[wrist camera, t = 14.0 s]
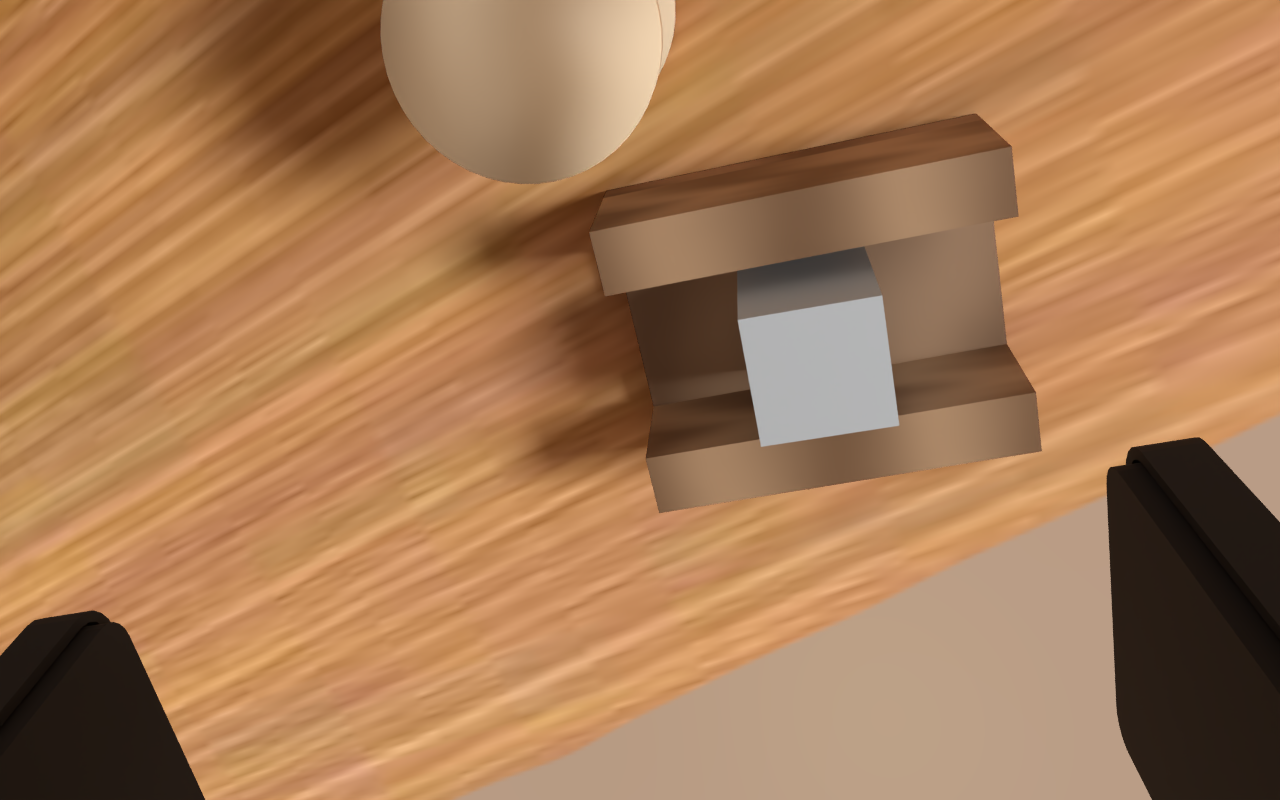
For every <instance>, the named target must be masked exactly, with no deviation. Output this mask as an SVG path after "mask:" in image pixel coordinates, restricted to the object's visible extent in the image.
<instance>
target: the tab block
mask: <svg viewBox="0 0 1280 800" xmlns="http://www.w3.org/2000/svg"><path fill="white" fill-rule="evenodd" d="M737 307H738V325H739V330H740V335H741V341H742V346H743V352H744V357H745V362H746V368H747V373H748V379H749V384H750V389H751V395H752V400H753V406H754V411H755V416H756V422H757V427H758V433H759V438H760V443H761V447H763V446H770V445H776V444H783V443H789V442H796V441H802V440H809V439H816V438H822V437H829V436H835V435H842V434H848V433H855V432H861V431H868V430H874V429H881V428H887V427H894V426H899V419H898V411H897V404H896V396H895V389H894V381H893V373H892V366H891V358H890V351H889V343H888V335H887V328H886V320H885V313H884V305H883V297H882V293H881V291H880V288H879V285H878V282H877V280H876V277H875V274H874V272H873V269H872V266H871V263H870V261H869V258H868V255H867V252H866V250H865V247H864V246H863V247H858V248H853V249H847V250H842V251H837V252H832V253H827V254H822V255H816V256H811V257H806V258H801V259H796V260H791V261H785V262H780V263H775V264H770V265H765V266H760V267H754V268H749V269H744V270H739V271H737Z"/></svg>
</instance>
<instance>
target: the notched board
mask: <svg viewBox="0 0 1280 800" xmlns="http://www.w3.org/2000/svg"><path fill="white" fill-rule="evenodd" d="M1013 217H1018V206H1017V196H1016V186H1015V176H1014V166H1013V156H1012V146H1011V145H1009V144H1008V143H1007V142H1006V141H1005V140H1004V139H1003V138H1002V137H1001V136H1000V135H999V134H998V133H997V132H995V131H994V130H993V129H992V128H991V127H990V126H989V125H988V124H987V123H986V122H985V121H984V120H983V119H982V118H980V117H979V116H978V115H977V114H972V115H968V116H963V117H958V118H953V119H948V120H944V121H939V122H934V123H929V124H924V125H920V126H915V127H910V128H905V129H900V130H896V131H891V132H886V133H881V134H876V135H872V136H867V137H862V138H857V139H853V140H848V141H843V142H838V143H833V144H829V145H824V146H819V147H814V148H809V149H805V150H800V151H795V152H790V153H785V154H781V155H776V156H771V157H766V158H761V159H757V160H752V161H747V162H742V163H737V164H733V165H728V166H723V167H718V168H713V169H709V170H704V171H699V172H694V173H689V174H685V175H680V176H675V177H670V178H665V179H661V180H656V181H651V182H646V183H641V184H637V185H632V186H627V187H622V188H618V189H613V190H608V191H606V193H605V195H604V198H603V200H602V203H601V205H600V207H599V210H598V212H597V215H596V217H595V219H594V222H593V224H592V227H591V229H590V231H589V234H590V238H591V242H592V246H593V250H594V254H595V258H596V262H597V266H598V270H599V274H600V278H601V282H602V286H603V290H604V294H605V296H610V295H615V294H620V293H625V292H626V294H627V298H628V302H629V306H630V311H631V315H632V319H633V323H634V327H635V331H636V335H637V339H638V344H639V348H640V352H641V356H642V360H643V364H644V368H645V373H646V377H647V381H648V385H649V389H650V393H651V397H652V401H653V406H654V408H653V414H652V421H651V427H650V434H649V441H648V447H647V454H646V462H647V466H648V470H649V474H650V478H651V482H652V486H653V490H654V494H655V498H656V502H657V506H658V510H659V513H663V512H669V511H675V510H681V509H688V508H694V507H700V506H706V505H712V504H718V503H725V502H731V501H737V500H743V499H749V498H756V497H762V496H768V495H774V494H780V493H786V492H793V491H799V490H805V489H811V488H817V487H824V486H830V485H836V484H842V483H848V482H854V481H861V480H867V479H873V478H879V477H885V476H892V475H898V474H904V473H910V472H916V471H922V470H929V469H935V468H941V467H947V466H953V465H960V464H966V463H972V462H978V461H984V460H990V459H997V458H1003V457H1009V456H1015V455H1021V454H1028V453H1034V452H1040V451H1042V449H1041V439H1040V429H1039V419H1038V409H1037V398H1036V392H1035V390H1034V388H1033V387H1032V385H1031V383H1030V382H1029V380H1028V378H1027V377H1026V375H1025V373H1024V372H1023V370H1022V368H1021V367H1020V365H1019V363H1018V362H1017V360H1016V358H1015V357H1014V355H1013V353H1012V352H1011V350H1010V348H1009V347H1008V345H1007V341H1006V332H1005V322H1004V313H1003V304H1002V295H1001V285H1000V276H999V267H998V257H997V248H996V239H995V230H994V221H997V220H1002V219H1007V218H1013ZM863 246H864V247H865V250H866V252H867V255H868V258H869V261H870V263H871V266H872V269H873V272H874V274H875V277H876V280H877V282H878V285H879V288H880V291H881V293H882V297H883V305H884V313H885V320H886V328H887V335H888V343H889V351H890V358H891V366H892V373H893V381H894V389H895V396H896V404H897V411H898V419H899V426H894V427H887V428H881V429H874V430H868V431H861V432H855V433H848V434H842V435H835V436H829V437H822V438H816V439H809V440H802V441H796V442H789V443H783V444H776V445H770V446H763V447H761V443H760V438H759V433H758V427H757V422H756V416H755V411H754V406H753V400H752V395H751V389H750V384H749V379H748V373H747V368H746V362H745V357H744V352H743V346H742V341H741V335H740V330H739V325H738V307H737V271H739V270H744V269H749V268H754V267H760V266H765V265H770V264H775V263H780V262H785V261H791V260H796V259H801V258H806V257H811V256H816V255H822V254H827V253H832V252H837V251H842V250H847V249H853V248H858V247H863Z"/></svg>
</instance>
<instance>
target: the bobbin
mask: <svg viewBox="0 0 1280 800" xmlns="http://www.w3.org/2000/svg"><path fill="white" fill-rule="evenodd" d="M675 19H676V3H675V0H383V5H382V12H381V46H382V54H383V60H384V64H385V68H386V72H387V76H388V78H389V81H390V84H391V87H392V89H393V92H394V94H395V96H396V98H397V100H398V102H399V104H400V106H401V108H402V110H403V111H404V113H405V114H406V116H407V117H408V119H409V120H410V122H411V123H412V125H413V126H414V127H415V128H416V129H417V131H418V132H419V133H420V134H421V135H422V136H423V137H424V139H425V140H426V141H427V142H429V143H430V144H431V145H432V146H433V147H434V148H435V149H436V150H437V151H438V152H440V153H441V154H443V155H444V156H445V157H447V158H448V159H450V160H451V161H452V162H454V163H456V164H457V165H459V166H461V167H463V168H465V169H467V170H469V171H471V172H473V173H476V174H478V175H481V176H483V177H486V178H490V179H494V180H498V181H502V182H509V183H517V184H540V183H547V182H554V181H558V180H562V179H565V178H569V177H572V176H574V175H577V174H579V173H581V172H584V171H586V170H588V169H590V168H591V167H593V166H595V165H596V164H598V163H600V162H601V161H603V160H604V159H605V158H607V157H608V156H609V155H610V154H612V153H613V152H614V151H615V150H616V149H617V148H618V147H619V146H620V145H621V144H622V143H623V142H624V141H625V140H626V139H627V138H628V137H629V135H630V134H631V133H632V131H633V130H634V129H635V127H636V126H637V124H638V123H639V121H640V120H641V118H642V116H643V114H644V112H645V110H646V108H647V107H648V104H649V102H650V99H651V96H652V94H653V91H654V89H655V86H656V83H657V79H658V75H659V73H660V71H661V69H662V68H663V66H664V63H665V61H666V58H667V55H668V53H669V50H670V47H671V43H672V39H673V35H674V28H675Z"/></svg>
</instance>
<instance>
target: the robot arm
mask: <svg viewBox="0 0 1280 800" xmlns="http://www.w3.org/2000/svg"><path fill="white" fill-rule="evenodd" d="M1107 505H1108V527H1109V550H1110V572H1111V594H1112V617H1113V638H1114V660H1115V683H1116V706H1117V715H1118V721H1119V726H1120V730H1121V734H1122V737H1123V740H1124V743H1125V746H1126V748H1127V750H1128V753H1129V755H1130V757H1131V759H1132V761H1133V763H1134V765H1135V767H1136V769H1137V771H1138V773H1139V775H1140V777H1141V779H1142V781H1143V782H1144V785H1145V786H1146V789H1147V790H1148V792H1149V794H1150V797H1151V798H1152V800H1280V522H1279V521H1278V520H1277V519H1276V518H1275V516H1274V515H1273V514H1272V513H1271V512H1270V511H1269V510H1268V509H1267V508H1266V507H1265V506H1264V505H1263V503H1262V502H1261V501H1260V500H1259V499H1258V498H1257V497H1256V496H1255V495H1254V494H1253V493H1252V492H1251V490H1250V489H1249V488H1248V487H1247V486H1246V485H1245V484H1244V483H1243V482H1242V481H1241V480H1240V479H1239V478H1238V476H1237V475H1236V474H1234V472H1233V471H1232V470H1231V469H1230V468H1229V467H1228V466H1227V465H1226V463H1225V462H1224V461H1223V460H1222V459H1221V458H1220V457H1219V456H1218V455H1217V454H1216V453H1215V451H1214V450H1213V449H1212V448H1211V447H1210V446H1209V445H1208V444H1207V443H1206V442H1205V441H1204V440H1202V439H1201V438H1189V439H1182V440H1176V441H1170V442H1163V443H1157V444H1150V445H1144V446H1138V447H1131V449H1130V450H1129V451H1128V455H1127V459H1126V465H1122V466H1115V467H1110V469H1109V470H1108V473H1107ZM0 800H205V798H204V796H203V794H202V792H201V790H200V787H199V785H198V783H197V781H196V779H195V777H194V774H193V772H192V770H191V768H190V766H189V764H188V761H187V759H186V757H185V755H184V753H183V751H182V748H181V746H180V744H179V742H178V740H177V738H176V735H175V733H174V731H173V729H172V727H171V725H170V723H169V720H168V718H167V716H166V714H165V712H164V710H163V707H162V705H161V703H160V701H159V699H158V697H157V694H156V692H155V690H154V688H153V686H152V684H151V681H150V679H149V677H148V675H147V673H146V671H145V668H144V666H143V664H142V662H141V660H140V658H139V655H138V653H137V651H136V649H135V647H134V645H133V642H132V640H131V638H130V636H129V634H128V633H127V631H126V629H125V628H124V627H123V626H121V625H120V624H118V623H115V622H110V620H109V619H108V618H107V617H106V616H104V615H103V614H102V613H100V612H97V611H87V612H80V613H74V614H68V615H61V616H55V617H49V618H43V619H38V620H34V621H33V622H32V623H30V624H29V625H28V626H27V627H26V628H25V629H24V630H23V631H22V632H21V633H20V634H19V636H18V637H17V638H16V639H15V640H14V641H13V642H12V643H11V645H10V646H9V647H8V648H7V649H6V650H5V651H4V652H3V653H2V655H1V656H0Z"/></svg>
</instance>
